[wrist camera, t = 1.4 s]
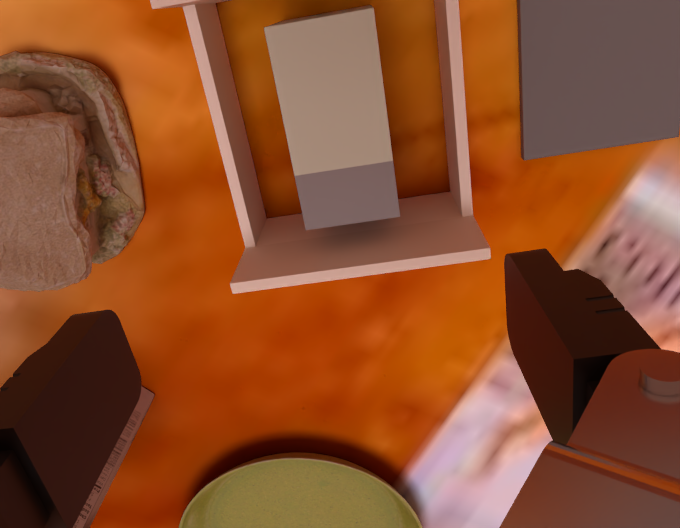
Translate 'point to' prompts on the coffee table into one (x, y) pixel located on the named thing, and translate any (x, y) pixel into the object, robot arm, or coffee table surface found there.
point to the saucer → (298, 496)
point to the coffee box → (114, 461)
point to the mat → (597, 74)
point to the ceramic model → (62, 171)
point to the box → (335, 116)
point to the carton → (351, 239)
